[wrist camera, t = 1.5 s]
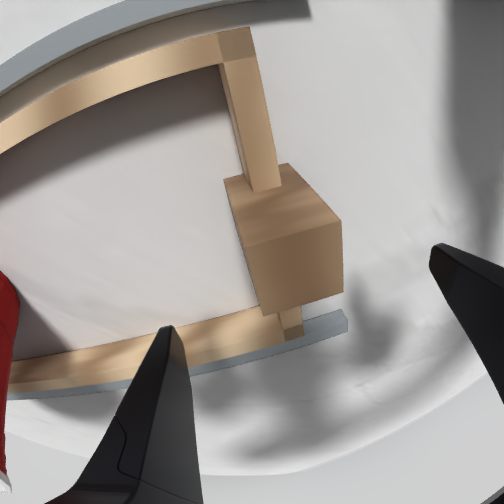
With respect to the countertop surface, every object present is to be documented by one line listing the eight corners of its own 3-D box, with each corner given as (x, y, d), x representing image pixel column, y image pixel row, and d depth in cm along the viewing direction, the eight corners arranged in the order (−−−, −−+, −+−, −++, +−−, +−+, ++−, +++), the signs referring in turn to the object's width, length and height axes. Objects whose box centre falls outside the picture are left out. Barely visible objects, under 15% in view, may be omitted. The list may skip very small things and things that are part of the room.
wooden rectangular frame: (261, 29, 11) (312, 6, 6) (307, 304, 20) (341, 377, 15) (-110, 226, 10) (-151, 273, 5) (-6, 373, 19) (-21, 427, 14)
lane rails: (301, -26, 9) (311, -33, 8) (341, 320, 22) (347, 331, 21) (-127, 203, 8) (-135, 211, 7) (4, 390, 21) (2, 400, 20)
